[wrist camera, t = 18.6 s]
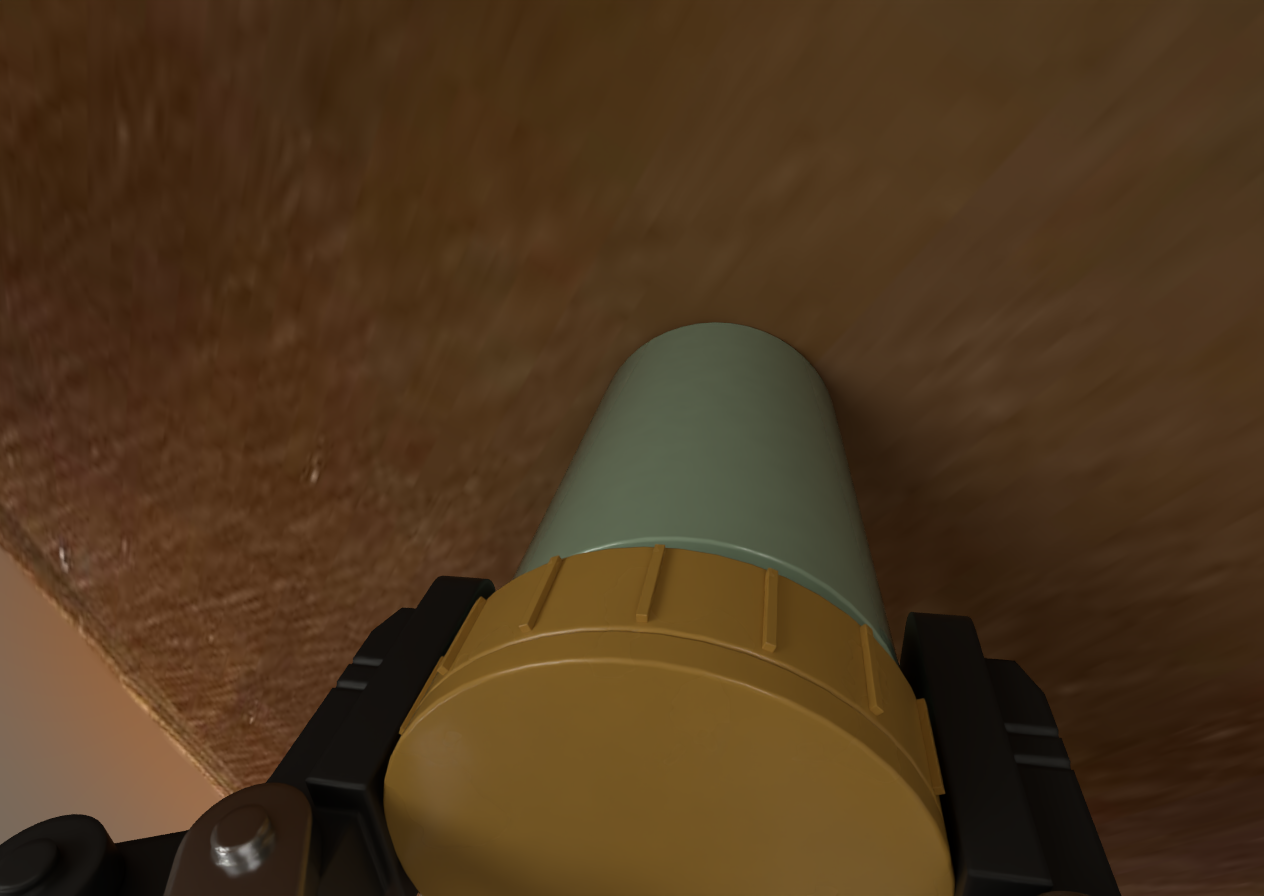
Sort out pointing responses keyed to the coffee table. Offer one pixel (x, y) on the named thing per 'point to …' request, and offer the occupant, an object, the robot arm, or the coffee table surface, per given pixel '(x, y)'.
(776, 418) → the jar
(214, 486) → the coffee table surface
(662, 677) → the jar lid
